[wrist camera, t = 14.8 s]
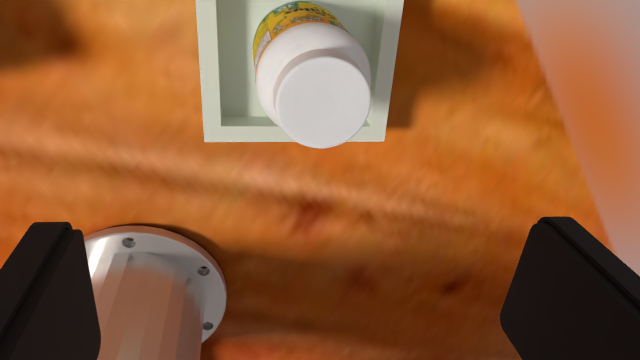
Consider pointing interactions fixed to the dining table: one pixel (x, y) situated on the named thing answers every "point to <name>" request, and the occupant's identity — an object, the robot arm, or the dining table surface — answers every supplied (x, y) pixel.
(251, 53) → the tray
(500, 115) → the dining table surface
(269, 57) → the supplement bottle
